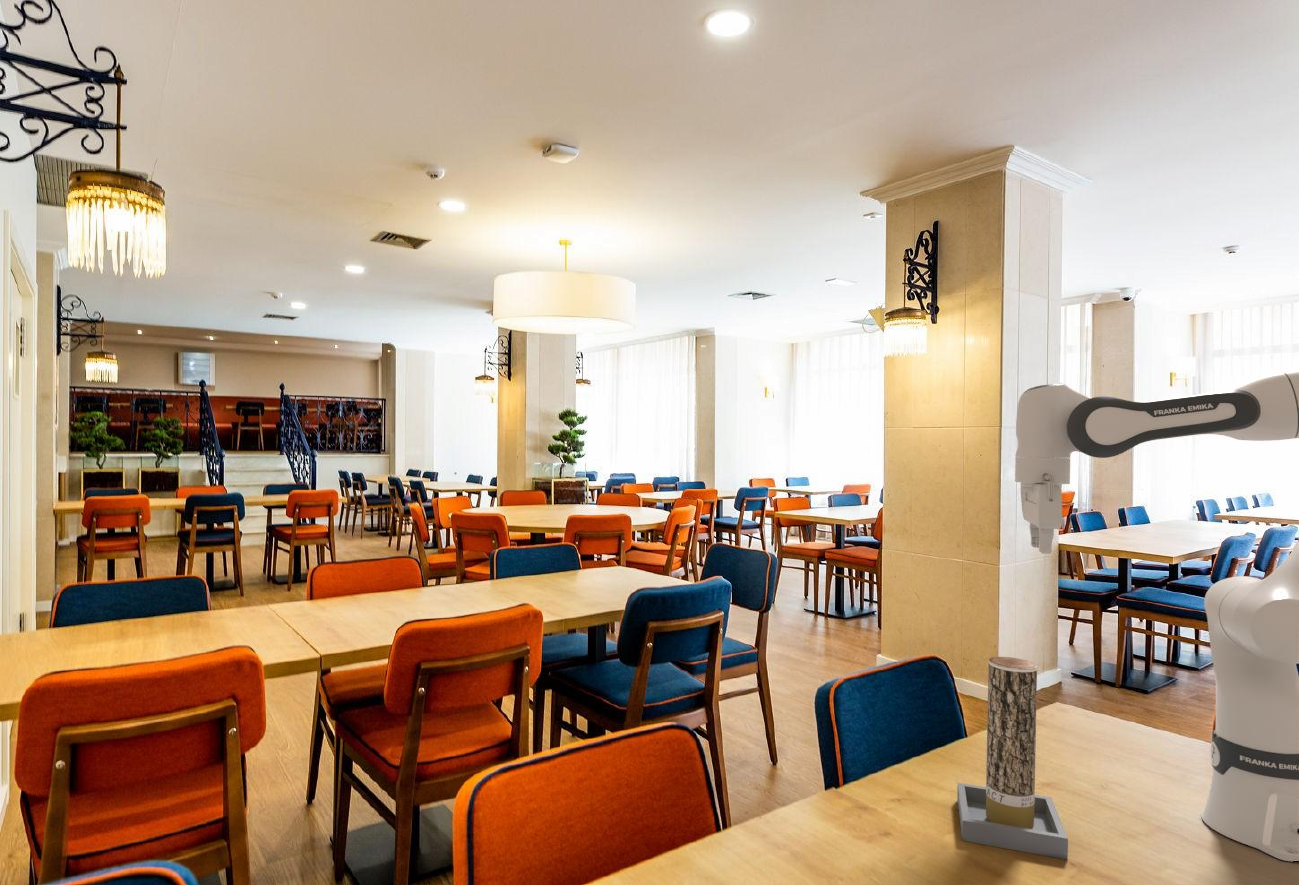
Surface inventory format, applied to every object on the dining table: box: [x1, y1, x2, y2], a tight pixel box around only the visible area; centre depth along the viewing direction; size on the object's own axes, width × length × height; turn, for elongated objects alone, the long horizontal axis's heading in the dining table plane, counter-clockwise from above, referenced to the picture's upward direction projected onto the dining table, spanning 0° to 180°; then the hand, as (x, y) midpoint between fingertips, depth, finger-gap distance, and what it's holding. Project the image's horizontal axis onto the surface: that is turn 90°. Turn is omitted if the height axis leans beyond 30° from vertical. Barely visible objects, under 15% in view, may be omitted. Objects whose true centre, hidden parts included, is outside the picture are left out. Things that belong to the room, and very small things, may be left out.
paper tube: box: [985, 656, 1038, 829], centre depth 117 cm, size 7×7×25 cm
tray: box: [956, 782, 1069, 861], centre depth 117 cm, size 14×14×3 cm
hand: (1040, 550), depth 136 cm, fingers open, 8 cm apart
